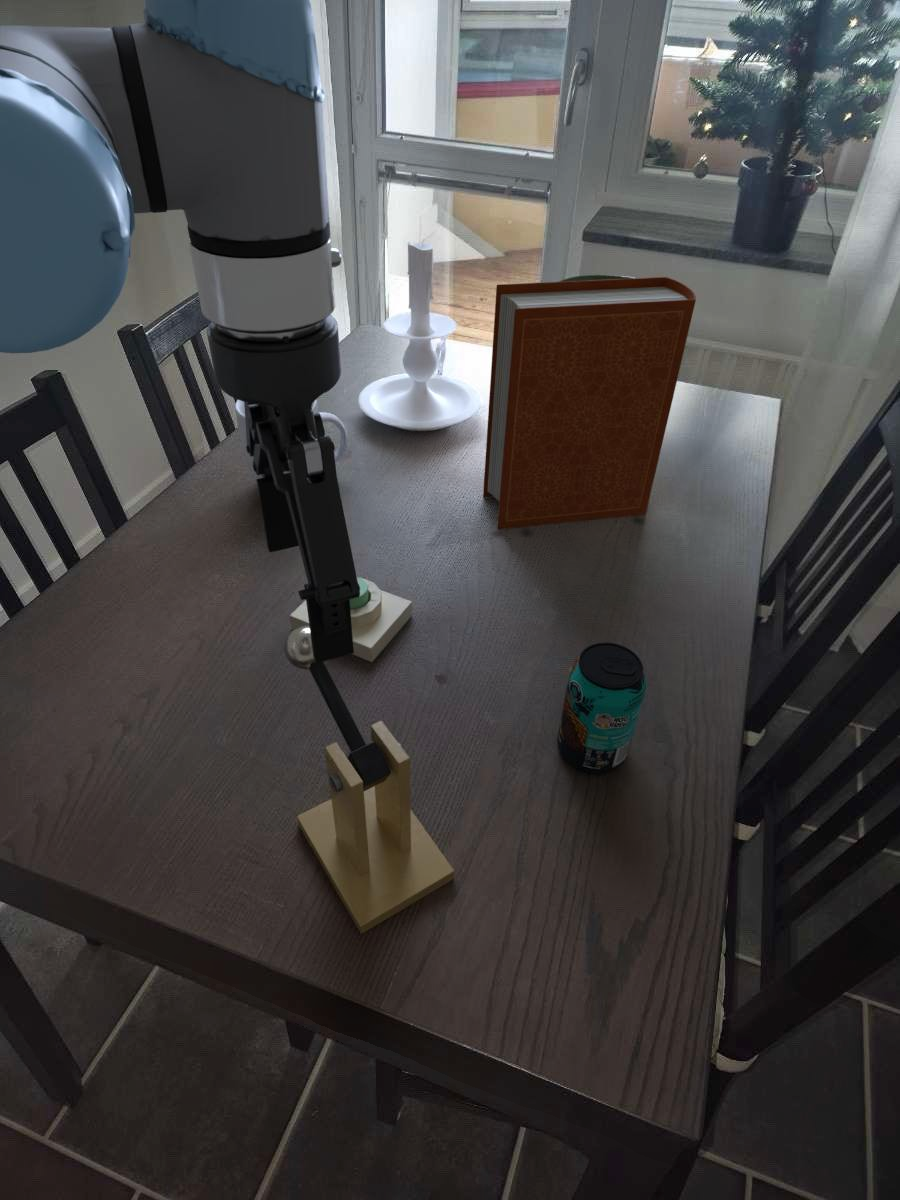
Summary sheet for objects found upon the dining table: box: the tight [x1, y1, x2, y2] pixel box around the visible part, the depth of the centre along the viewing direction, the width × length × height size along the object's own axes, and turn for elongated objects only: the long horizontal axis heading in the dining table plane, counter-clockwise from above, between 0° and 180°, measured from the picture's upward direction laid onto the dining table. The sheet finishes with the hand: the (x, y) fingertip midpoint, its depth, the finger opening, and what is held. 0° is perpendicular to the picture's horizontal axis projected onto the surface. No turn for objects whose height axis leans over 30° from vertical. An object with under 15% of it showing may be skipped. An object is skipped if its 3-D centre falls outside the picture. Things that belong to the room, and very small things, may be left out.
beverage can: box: [556, 642, 648, 774], centre depth 72 cm, size 7×7×12 cm
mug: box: [234, 399, 348, 482], centre depth 107 cm, size 15×11×13 cm
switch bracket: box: [296, 720, 455, 935], centre depth 62 cm, size 12×9×14 cm
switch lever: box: [284, 625, 391, 791], centre depth 60 cm, size 14×4×4 cm, turn 33°
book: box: [482, 276, 697, 530], centre depth 99 cm, size 23×8×30 cm, turn 102°
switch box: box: [289, 577, 413, 663], centre depth 88 cm, size 11×9×4 cm
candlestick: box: [357, 238, 483, 432], centre depth 121 cm, size 21×25×28 cm
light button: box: [350, 576, 368, 610], centre depth 86 cm, size 4×4×2 cm
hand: (307, 596), depth 58 cm, fingers open, 13 cm apart
